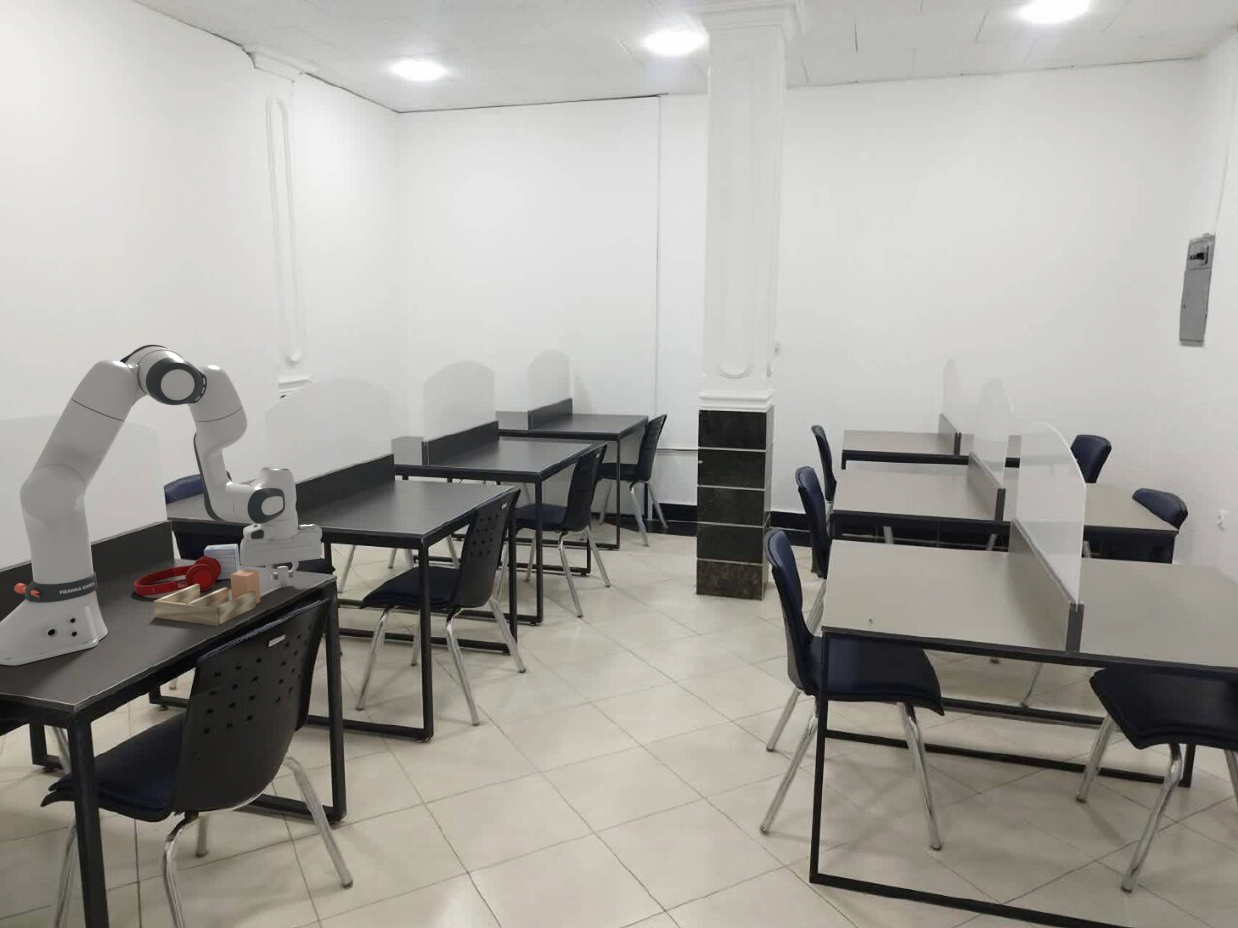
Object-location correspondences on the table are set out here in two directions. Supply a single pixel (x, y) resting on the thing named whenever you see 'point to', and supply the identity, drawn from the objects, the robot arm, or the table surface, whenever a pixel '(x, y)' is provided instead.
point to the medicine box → (225, 558)
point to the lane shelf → (203, 606)
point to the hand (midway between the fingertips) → (283, 578)
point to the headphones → (198, 573)
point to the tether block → (255, 582)
